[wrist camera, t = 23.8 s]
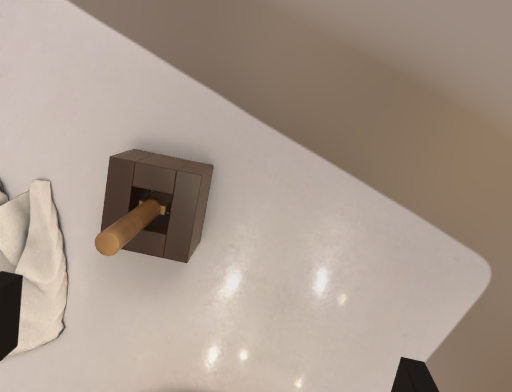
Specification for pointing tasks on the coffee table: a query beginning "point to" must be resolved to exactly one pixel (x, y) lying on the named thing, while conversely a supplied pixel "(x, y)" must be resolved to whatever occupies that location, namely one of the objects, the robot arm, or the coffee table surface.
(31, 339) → the cloth
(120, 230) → the stick
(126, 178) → the holder
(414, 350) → the coffee table surface
